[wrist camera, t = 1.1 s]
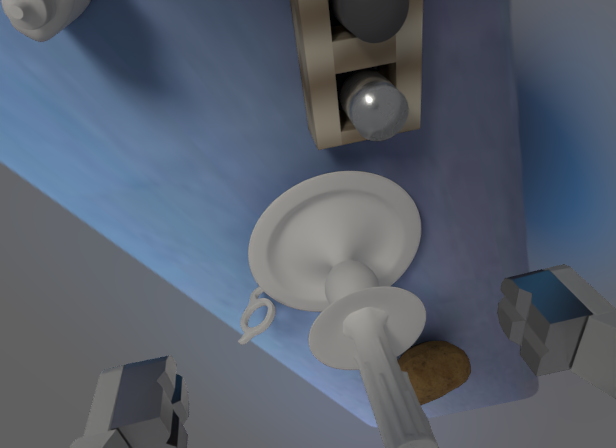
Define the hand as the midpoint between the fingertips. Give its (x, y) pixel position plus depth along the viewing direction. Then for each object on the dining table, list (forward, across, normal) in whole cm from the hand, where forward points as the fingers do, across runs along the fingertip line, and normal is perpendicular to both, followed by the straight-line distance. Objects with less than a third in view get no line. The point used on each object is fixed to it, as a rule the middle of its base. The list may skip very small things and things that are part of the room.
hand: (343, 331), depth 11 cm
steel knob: (+31, -9, +5) cm, 33 cm away
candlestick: (+36, -3, +24) cm, 43 cm away
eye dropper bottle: (+35, +13, -7) cm, 38 cm away
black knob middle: (+31, -9, -3) cm, 32 cm away
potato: (+37, -17, +51) cm, 65 cm away
